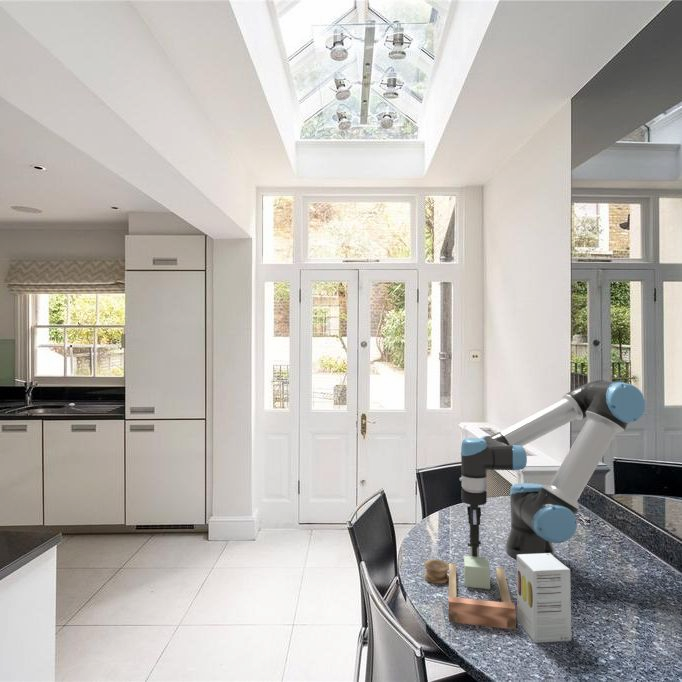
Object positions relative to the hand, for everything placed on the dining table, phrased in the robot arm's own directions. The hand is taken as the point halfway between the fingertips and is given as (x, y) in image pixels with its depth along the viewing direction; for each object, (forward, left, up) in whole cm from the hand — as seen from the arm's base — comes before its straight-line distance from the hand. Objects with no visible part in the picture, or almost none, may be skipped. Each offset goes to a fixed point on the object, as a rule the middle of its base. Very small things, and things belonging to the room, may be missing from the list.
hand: (474, 566), depth 144 cm
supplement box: (-15, +27, -2) cm, 31 cm away
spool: (+11, +5, -2) cm, 13 cm away
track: (0, +14, -2) cm, 14 cm away
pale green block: (0, +5, -2) cm, 6 cm away
